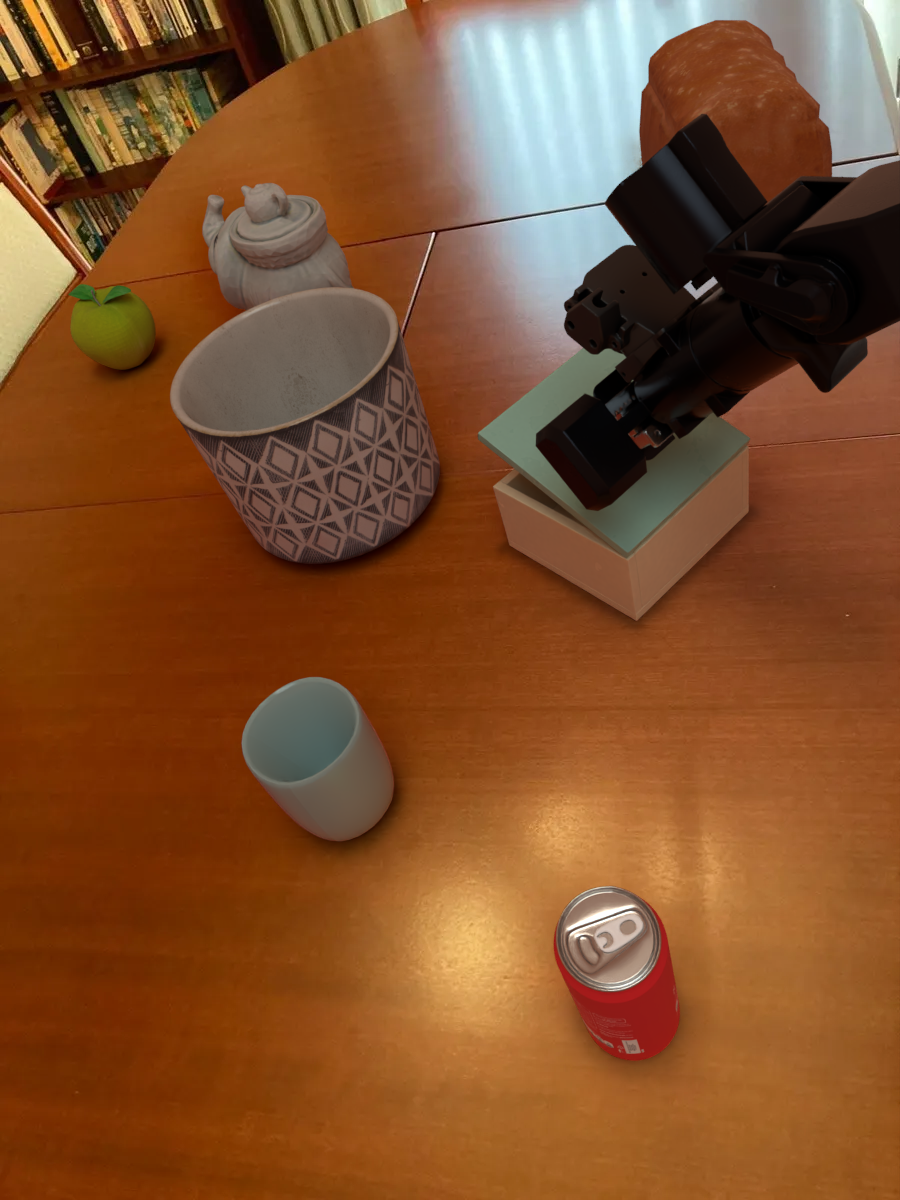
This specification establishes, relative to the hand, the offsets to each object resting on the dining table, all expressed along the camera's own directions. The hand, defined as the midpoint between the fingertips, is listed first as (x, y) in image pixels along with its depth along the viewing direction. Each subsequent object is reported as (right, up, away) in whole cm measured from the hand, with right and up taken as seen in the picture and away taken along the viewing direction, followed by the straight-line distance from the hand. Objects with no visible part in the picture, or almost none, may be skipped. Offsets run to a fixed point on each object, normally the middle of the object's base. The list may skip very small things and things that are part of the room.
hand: (606, 428), depth 64 cm
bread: (+21, +34, +37) cm, 55 cm away
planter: (-21, -4, +18) cm, 28 cm away
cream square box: (+3, -7, +7) cm, 10 cm away
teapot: (-29, +19, +40) cm, 52 cm away
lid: (+1, -1, +1) cm, 1 cm away
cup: (-18, -27, -3) cm, 33 cm away
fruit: (-51, +17, +46) cm, 71 cm away
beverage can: (-1, -35, -16) cm, 39 cm away
